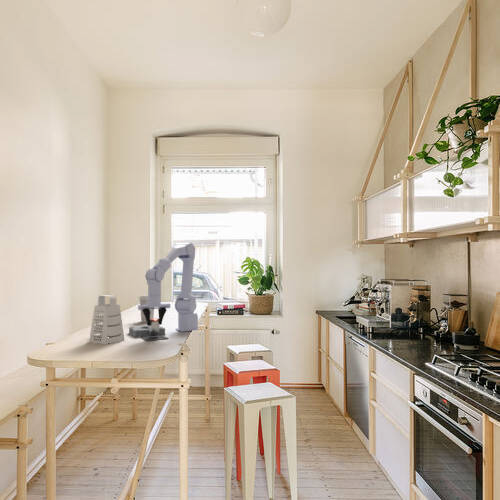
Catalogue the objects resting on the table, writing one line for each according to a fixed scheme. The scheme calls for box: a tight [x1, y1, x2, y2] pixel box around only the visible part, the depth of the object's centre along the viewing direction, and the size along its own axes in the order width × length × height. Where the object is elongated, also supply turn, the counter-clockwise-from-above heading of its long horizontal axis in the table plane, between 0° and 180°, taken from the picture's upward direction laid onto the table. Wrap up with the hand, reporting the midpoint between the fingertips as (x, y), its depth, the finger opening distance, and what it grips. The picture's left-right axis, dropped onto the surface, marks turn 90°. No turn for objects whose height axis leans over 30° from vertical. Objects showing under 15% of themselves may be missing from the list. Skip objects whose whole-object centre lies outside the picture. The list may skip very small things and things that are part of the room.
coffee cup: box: [138, 294, 155, 323], centre depth 240 cm, size 10×10×15 cm
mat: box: [140, 335, 169, 342], centre depth 191 cm, size 10×10×1 cm
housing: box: [128, 325, 166, 338], centre depth 202 cm, size 14×12×3 cm
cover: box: [148, 317, 160, 336], centre depth 192 cm, size 5×5×7 cm
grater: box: [88, 294, 125, 345], centre depth 185 cm, size 10×10×20 cm
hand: (154, 324), depth 191 cm, fingers closed on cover, 5 cm apart
